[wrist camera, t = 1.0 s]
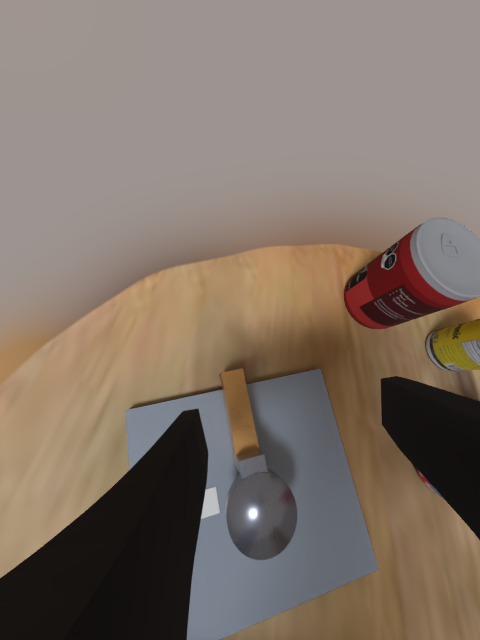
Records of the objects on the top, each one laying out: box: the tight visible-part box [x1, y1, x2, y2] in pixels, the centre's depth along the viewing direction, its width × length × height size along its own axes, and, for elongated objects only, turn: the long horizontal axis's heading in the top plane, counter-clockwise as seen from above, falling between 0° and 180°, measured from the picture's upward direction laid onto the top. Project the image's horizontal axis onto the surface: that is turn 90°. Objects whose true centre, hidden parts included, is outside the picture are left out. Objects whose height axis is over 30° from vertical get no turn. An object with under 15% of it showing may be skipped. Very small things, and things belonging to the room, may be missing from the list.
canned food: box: [344, 218, 480, 329], centre depth 25 cm, size 8×8×11 cm
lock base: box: [125, 369, 379, 640], centre depth 20 cm, size 18×20×4 cm
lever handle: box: [220, 368, 297, 560], centre depth 19 cm, size 13×5×4 cm, turn 12°
